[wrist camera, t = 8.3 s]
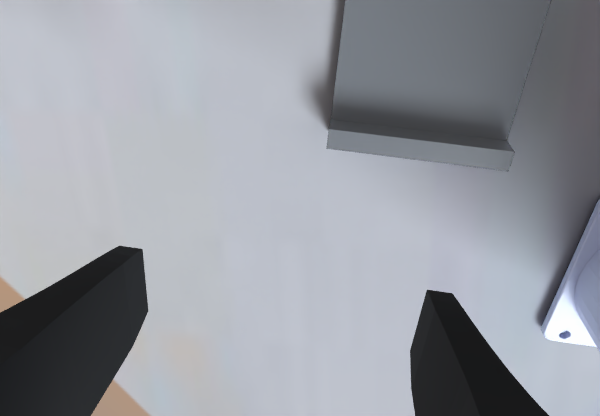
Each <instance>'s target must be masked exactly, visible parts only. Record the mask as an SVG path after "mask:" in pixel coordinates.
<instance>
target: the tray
mask: <svg viewBox="0 0 600 416" xmlns="http://www.w3.org/2000/svg"><path fill="white" fill-rule="evenodd" d="M550 3H551V0H345V7H344V15H343V23H342V32H341V40H340V48H339V56H338V64H337V73H336V81H335V89H334V97H333V106H332V114H331V121H330V126H329V132H328V140H327V148H326V149H334V150H342V151H350V152H358V153H366V154H374V155H382V156H390V157H398V158H406V159H414V160H422V161H430V162H438V163H446V164H454V165H461V166H469V167H477V168H485V169H493V170H501V171H509V169H510V166H511V162H512V159H513V156H514V153H515V151H514V150H513V149H512V147H511V146H510V145H509V143H508V142H507V138H508V135H509V132H510V129H511V125H512V122H513V119H514V116H515V113H516V110H517V106H518V103H519V100H520V97H521V94H522V91H523V88H524V84H525V81H526V78H527V75H528V72H529V69H530V66H531V62H532V59H533V56H534V53H535V50H536V47H537V44H538V40H539V37H540V34H541V31H542V28H543V25H544V21H545V18H546V15H547V12H548V9H549V6H550Z"/></svg>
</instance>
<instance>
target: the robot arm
mask: <svg viewBox="0 0 600 416" xmlns="http://www.w3.org/2000/svg"><path fill="white" fill-rule="evenodd" d="M147 312H148V303H147V293H146V282H145V272H144V261H143V251H142V249H138V248H131V247H124V246H118V247H116V248H114V249H112V250H111V251H109V252H107V253H105V254H104V255H102V256H100V257H99V258H97V259H95V260H94V261H92V262H90V263H89V264H87V265H85V266H84V267H82V268H80V269H79V270H77V271H75V272H73V273H72V274H70V275H68V276H67V277H65V278H63V279H61V280H60V281H58V282H56V283H55V284H53V285H51V286H49V287H48V288H46V289H44V290H42V291H40V292H38V293H37V294H35V295H33V296H31V297H29V298H27V299H25V300H24V301H22V302H20V303H18V304H16V305H14V306H12V307H11V308H9V309H7V310H5V311H3V312H1V313H0V416H91V414H92V413H93V411H94V409H95V408H96V406H97V404H98V403H99V401H100V400H101V398H102V396H103V395H104V393H105V391H106V390H107V388H108V386H109V385H110V383H111V382H112V380H113V378H114V377H115V375H116V373H117V372H118V370H119V368H120V367H121V365H122V363H123V362H124V360H125V358H126V357H127V355H128V353H129V352H130V350H131V348H132V346H133V344H134V342H135V340H136V338H137V336H138V333H139V331H140V329H141V327H142V324H143V322H144V320H145V317H146V315H147ZM541 331H542V333H543V335H544V337H545V338H546V339H548V340H553V341H559V342H566V343H573V344H580V345H587V346H593V347H597V348H598V350H599V352H600V199H599V201H598V202H597V204H596V206H595V209H594V211H593V213H592V215H591V218H590V220H589V222H588V224H587V226H586V229H585V231H584V233H583V235H582V238H581V240H580V242H579V244H578V247H577V249H576V251H575V253H574V255H573V258H572V260H571V262H570V264H569V267H568V269H567V271H566V273H565V276H564V278H563V280H562V282H561V285H560V287H559V289H558V291H557V293H556V296H555V298H554V300H553V302H552V305H551V307H550V309H549V311H548V314H547V316H546V318H545V320H544V322H543V325H542V327H541ZM563 331H566V332H564V333H561V332H563ZM410 357H411V389H412V396H413V403H414V409H415V416H549V415H548V414H547V413H546V412H545V411H544V410H543V409H542V408H541V407H540V406H539V405H538V404H537V403H536V401H535V400H534V399H533V398H532V397H531V396H530V395H529V394H528V393H527V391H526V390H525V389H524V388H523V387H522V386H521V384H520V383H519V382H518V381H517V380H516V379H515V377H514V376H513V375H512V374H511V373H510V371H509V370H508V369H507V368H506V366H505V365H504V364H503V363H502V361H501V360H500V359H499V357H498V356H497V355H496V353H495V352H494V351H493V350H492V348H491V347H490V346H489V344H488V343H487V342H486V340H485V339H484V337H483V336H482V335H481V333H480V332H479V331H478V329H477V328H476V326H475V325H474V324H473V322H472V321H471V319H470V318H469V316H468V315H467V314H466V312H465V311H464V309H463V308H462V306H461V305H460V303H459V302H458V301H457V299H456V298H455V297H454V295H453V294H452V293H446V292H439V291H432V290H427V292H426V295H425V299H424V303H423V306H422V310H421V314H420V317H419V321H418V325H417V328H416V332H415V335H414V339H413V343H412V346H411V350H410Z"/></svg>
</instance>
